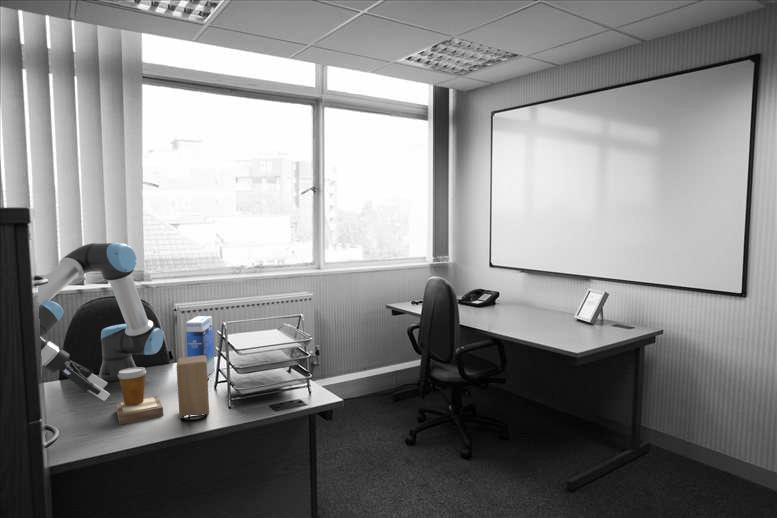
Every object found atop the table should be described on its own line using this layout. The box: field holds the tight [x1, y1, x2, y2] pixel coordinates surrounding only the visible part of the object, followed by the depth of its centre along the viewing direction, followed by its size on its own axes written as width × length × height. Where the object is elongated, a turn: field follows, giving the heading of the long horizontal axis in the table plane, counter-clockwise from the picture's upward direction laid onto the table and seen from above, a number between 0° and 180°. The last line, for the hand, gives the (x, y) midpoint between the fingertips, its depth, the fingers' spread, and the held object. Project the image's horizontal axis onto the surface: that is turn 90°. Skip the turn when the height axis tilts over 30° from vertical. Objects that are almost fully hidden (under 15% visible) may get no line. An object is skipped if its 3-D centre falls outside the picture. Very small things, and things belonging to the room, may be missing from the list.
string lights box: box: [185, 315, 216, 377], centre depth 225 cm, size 13×8×26 cm, turn 0°
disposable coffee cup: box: [118, 366, 147, 405], centre depth 184 cm, size 10×10×12 cm
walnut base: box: [115, 395, 164, 425], centre depth 182 cm, size 14×14×3 cm
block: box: [176, 355, 210, 419], centre depth 181 cm, size 10×10×20 cm
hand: (106, 391), depth 176 cm, fingers open, 13 cm apart
